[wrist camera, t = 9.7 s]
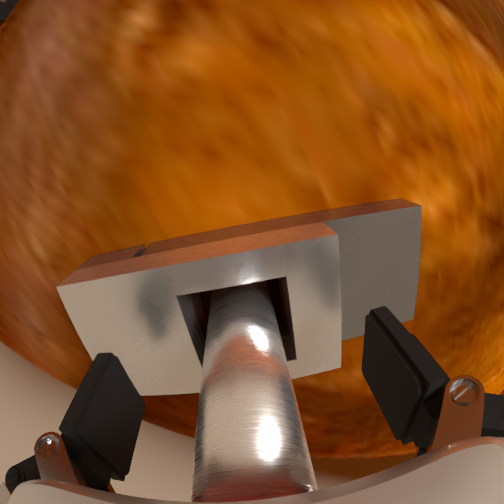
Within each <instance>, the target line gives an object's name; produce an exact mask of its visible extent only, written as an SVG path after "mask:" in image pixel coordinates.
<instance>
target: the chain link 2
mask: <svg viewBox="0 0 504 504" xmlns="http://www.w3.org/2000/svg"><path fill="white" fill-rule="evenodd" d="M318 222H323V223H325V224H326V225H327V226H328V227H330V228H331V229H332V230H333V231H335V232H336V233H337V234H338V242H339V258H340V277H341V315H342V341H344V340H347V339H351V338H355V337H358V336H362V335H364V333H365V317H366V315H368V314H369V312H370V310H371V309H375V308H378V307H382V306H386V307H387V308H388V309H389V310H390V311H391V312H392V313H393V315H394V316H395V317H396V318H397V319H398V320H399V321H400V323H404V322H407V321H410V320H412V319H414V312H415V305H416V297H417V288H418V279H419V267H420V251H421V205H418V204H416V203H413V202H410V201H407V200H404V199H395V200H388V201H381V202H375V203H368V204H361V205H355V206H349V207H342V208H336V209H330V210H324V211H318V212H312V213H306V214H300V215H294V216H288V217H283V218H277V219H271V220H266V221H260V222H255V223H249V224H244V225H239V226H233V227H228V228H223V229H218V230H213V231H208V232H203V233H198V234H193V235H188V236H183V237H178V238H173V239H168V240H164V241H159V242H154V243H152V244H151V245H150V246H149V247H148V248H147V249H146V251H145V252H144V253H143V254H142V255H141V256H144V255H149V254H154V253H159V252H164V251H169V250H174V249H179V248H184V247H189V246H194V245H199V244H204V243H210V242H215V241H220V240H225V239H230V238H236V237H241V236H246V235H252V234H257V233H263V232H268V231H273V230H279V229H285V228H290V227H296V226H301V225H307V224H313V223H318ZM278 281H279V288H280V294H281V301H282V308H283V315H280V316H276V320H277V324H278V328H279V331H280V335H281V336H286V335H289V327H288V320H287V313H286V305H285V298H284V291H283V284H282V277H280V278H278ZM190 297H191V300H192V304H193V307H194V310H195V313H196V316H197V319H198V322H199V325H200V328H201V331H202V334H203V337H204V340H205V343H206V335H207V327H208V320H207V317H206V314H205V310H204V307H203V304H202V300H201V297H200V293H199V292H197V293H191V294H190Z"/></svg>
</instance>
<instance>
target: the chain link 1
mask: <svg viewBox="0 0 504 504" xmlns="http://www.w3.org/2000/svg"><path fill="white" fill-rule="evenodd" d="M144 252H145V247H144V245H140V246H136V247H131V248H127V249H122V250H118V251H113V252H109V253H105V254H100V255H96V256H92V257H91V258H89V259H88V260H87V261H86V262H85V263H83V264H82V265H81V266H80V267H79V268H77V269H76V270H75V271H74V272H73V273H72V274H70V275H69V276H68V277H67V278H66V279H65V280H64V281H63V282H61V283H60V284H59V285H58V286H57V290H58V292H59V294H60V297H61V299H62V301H63V304H64V306H65V308H66V310H67V312H68V315H69V317H70V319H71V321H72V323H73V325H74V327H75V329H76V331H77V333H78V335H79V337H80V339H81V340H82V342H83V344H84V346H85V348H86V350H87V351H88V353H89V355H90V357H91V358H92V360H93V361H94V359H95V357H96V355H97V354H98V353H109V352H110V353H113V354H114V356H117V357H118V358H119V360H120V362H121V364H122V366H123V367H124V369H125V371H126V373H127V374H128V376H129V378H130V380H131V381H132V383H133V385H134V386H135V388H136V389H137V391H138V393H139V394H140V396H147V395H173V394H189V393H200V385H201V376H202V368H203V359H204V351H205V340H204V337H203V334H202V331H201V328H200V325H199V322H198V319H197V316H196V313H195V310H194V307H193V304H192V300H191V297H190V294H191V293H197V292H203V291H208V290H214V289H220V288H226V287H231V286H237V285H242V284H248V283H253V282H259V281H264V280H269V279H274V278H280V277H282V284H283V291H284V298H285V305H286V313H287V320H288V327H289V335H286V336H281V339H282V344H283V348H284V352H285V356H286V360H287V364H288V368H289V372H290V376H291V379H294V378H299V377H303V376H308V375H312V374H316V373H321V372H325V371H329V370H332V369H336V368H340V367H341V341H342V315H341V277H340V258H339V242H338V234H337V233H336V232H335V231H333V230H332V229H331V228H330V227H328V226H327V225H326V224H325V223H323V222H318V223H313V224H307V225H301V226H296V227H290V228H285V229H279V230H273V231H268V232H263V233H257V234H252V235H246V236H241V237H236V238H230V239H225V240H220V241H215V242H210V243H204V244H199V245H194V246H189V247H184V248H179V249H174V250H169V251H164V252H159V253H154V254H149V255H144V256H141V255H142V254H143V253H144Z"/></svg>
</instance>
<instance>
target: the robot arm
mask: <svg viewBox="0 0 504 504" xmlns="http://www.w3.org/2000/svg"><path fill="white" fill-rule="evenodd" d="M362 373H363V375H364V377H365V379H366V381H367V383H368V385H369V387H370V389H371V391H372V393H373V395H374V397H375V399H376V401H377V403H378V404H379V406H380V408H381V410H382V412H383V414H384V416H385V418H386V420H387V422H388V424H389V426H390V428H391V430H392V433H393V435H394V437H395V438H396V439H397V440H400V439H401V441H402V443H403V445H406V444H408V443H410V442H412V441H413V442H414V443H415V445H416V447H417V450H416V453H415V456H414V458H413V459H411V460H408V461H406V462H404V463H401V464H399V465H396V466H394V467H391V468H389V469H386V470H383V471H381V472H378V473H375V474H372V475H369V476H366V477H363V478H360V479H357V480H354V481H350V482H347V483H343V484H340V485H336V486H332V487H328V488H325V489H320V490H316V491H311V492H306V493H301V494H296V495H290V496H284V497H277V498H270V499H261V500H251V501H238V502H179V501H165V500H155V499H147V498H139V497H132V496H127V495H121V494H116V492H115V491H114V489H113V487H112V485H111V484H110V479H111V478H112V479H114V480H120V481H124V479H125V475H127V474H128V473H129V470H130V465H131V461H132V457H133V452H134V449H135V444H136V440H137V436H138V432H139V429H140V425H141V421H142V417H143V414H144V410H145V403H144V401H143V399H142V397H141V396H140V394H139V393H138V391H137V389H136V388H135V386H134V385H133V383H132V381H131V380H130V378H129V376H128V374H127V373H126V371H125V369H124V367H123V366H122V364H121V362H120V360H119V358H118V357H117V356H114V354H113V353H110V352H109V353H98V354H97V355H96V357H95V359H94V361H93V362H92V364H91V366H90V368H89V370H88V371H87V373H86V375H85V377H84V379H83V381H82V383H81V384H80V386H79V388H78V390H77V392H76V394H75V396H74V398H73V400H72V402H71V404H70V406H69V408H68V410H67V412H66V414H65V416H64V418H63V421H62V423H61V425H60V427H59V430H60V431H61V432H62V434H61V436H60V435H59V434H58V433H55V432H48V433H45V434H43V435H42V436H41V437H40V438H39V439H38V440H37V442H36V443H35V447H34V451H35V455H34V456H32V457H30V458H28V459H26V460H24V461H22V462H20V463H18V464H16V465H14V466H12V467H11V468H10V469H9V470H8V471H7V474H6V478H5V482H6V484H5V483H4V482H3V483H2V484H1V485H0V504H504V395H496V394H490V393H484V388H483V386H482V384H481V382H480V381H479V380H478V379H476V378H474V377H472V376H467V375H461V376H457V377H455V378H453V379H452V380H451V379H450V378H449V377H448V376H447V374H446V373H445V372H444V371H443V369H442V368H441V367H440V366H439V364H438V363H437V362H436V361H435V360H434V358H433V357H432V356H431V355H430V353H429V352H428V351H427V350H426V349H425V347H424V346H423V345H422V344H421V343H420V342H419V340H418V339H417V338H416V337H415V336H414V335H413V334H410V333H409V332H408V331H407V329H406V328H405V327H404V326H403V325H402V324H401V323H400V321H399V320H398V319H397V318H396V317H395V316H394V315H393V313H392V312H391V311H390V310H389V309H388V308H387V307H386V306H382V307H378V308H375V309H371V310H370V312H369V314H368V315H366V317H365V333H364V347H363V359H362Z"/></svg>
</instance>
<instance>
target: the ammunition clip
mask: <svg viewBox="0 0 504 504" xmlns="http://www.w3.org/2000/svg"><path fill="white" fill-rule="evenodd" d="M18 1H19V0H0V22H4V21H5V20H6V19H7V17H8V16H9V14H10V13H11V11H12V10H13V8H14V7H15V6H16V4H17V3H18Z"/></svg>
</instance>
